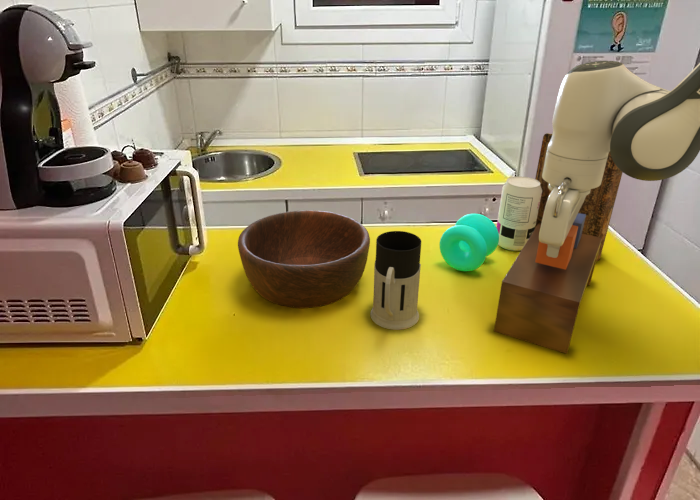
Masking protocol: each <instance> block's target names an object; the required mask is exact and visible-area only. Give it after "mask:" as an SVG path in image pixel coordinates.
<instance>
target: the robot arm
mask: <svg viewBox="0 0 700 500" xmlns="http://www.w3.org/2000/svg"><path fill="white" fill-rule="evenodd" d="M554 105H555V106H554V109H553V116H552V123H551V124H552V133H551V134H552V138H551V140H550V142H549V144H548V147H547V152H546V157H545V162H544V168H543V173H542V178H543V179H544V180H545V181H546V182H548V183H549V185H548V188H549V189H550V190H551V191H552V192H551V193H550V195H549V197H548V200H547V203H546V206H545V210H544V214H543V219H542V223H541V228H540V232H539V241H540V242H541V243H545V244H548V248H547V253H546V255H547V256H548V257H553V258H557V256H558V254H559V251H560V247H561V246H562V245H563V243H564V241H565V239H566V237H567V235H568V233H569V231H570V229H571V227H572V225H573V222H574V220H575V218H576V216H577V214H578V212H579V210H580V208H581V206H582V204H583V202H584V200H585V197H586V195H588V194H590V190H591V189H593V188H597V187H599V186H600V185H601V182H602V178H603V174H604V170H605V166H606V162H607V158H608V154H609V152H610V153H611V157H612V159H613V161H614V163H615V165H616V166H617V167H618V168H619V169H620V170H621V171H622V172H623V173H622V174H625V175H626V176H628V177H631V178H632V179H635V180H639V181H645V182H656V181H663V180H667V179H669V178H673V177H675V176H676V175H678V174H680V173H682V172H683V171H684V170H686V169H687V168H689V166H690V165H692V163H693V162H694V161H695V160H696V158H697V157H698V155H699V154H700V62H698V64H697V65H696V66H695V67H694V68H693V69H692V70H691V71H690V72H689V73H688V74H687V75H686V76H685V77H684V78H683V79H682V80H681V81H680V82H679V83H678V84H677V85H676V86H675V87H674V88H673V89H672V90H668V89H665V88H663V87H660V86H658V85H655V84H653V83H651V82H648V81H646V80H645V79H642V78H641V77H639V76H638V75H636V74H635V73H634V72H632V71H631V70H629V69H628V68H627V67H626V66H625V64H624V63H622V62H621V61H617V60H598V61H591V62H590V61H589V62H585V63H581V64H578V65H576V66H574V67H573V68H571V69H570V70H569V71H568V72H567V73H566V74H565V76H563V79H562V81H561V84H560V87H559V90H558V93H557V97H556V101H555V104H554Z"/></svg>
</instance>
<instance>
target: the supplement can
mask: <svg viewBox="0 0 700 500" xmlns="http://www.w3.org/2000/svg"><path fill="white" fill-rule="evenodd" d="M541 195H542V189H541V186H540V182H539V181H538V180H536V179H535V178H532V177H528V176H517V175H516V176H511V177H508V178H507V179H506V181H505V182H504V184H503V185H502V188H501V195H500V201H499V208H498V214H497V221H496V228H497V230H498V233H499V242H498V246H499V247H501V248H502V249H505V250H508V251H514V252H516V251H517V252H521V251H522V249H523V247H524V246H525V244H526V243H527V241H528V239H529V238H530V236H531V235H532V233H533V231H534V230H535V226H536V221H537V216H538V211H539V205H540V200H541Z"/></svg>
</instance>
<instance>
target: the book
mask: <svg viewBox="0 0 700 500" xmlns="http://www.w3.org/2000/svg"><path fill="white" fill-rule="evenodd" d="M552 134H553V133H549V132H547V133H546V132H545V133H544V134H543V136H542V139H541V140H542V141H541V145H540V151H539V156H538V162H537V167H536V173H535V178H534V179H536V180H538V181H539V182H540V186H541V189H542V195H541V200H540V205H539V211H538V216H537V221H536V226H535V228H536V227H537V225H538V224H539V225H541V223H542V219H543V214H544V210H545V206H546V203H547V200H548V197H549V195H550V193H551V192H552V191H551V190H550V189H549V188H548V185H549V183H548V182H546V181H545V180H544V179H543V178H542V173H543V168H544V162H545V157H546V152H547V147H548V144H549V142H550V140H551V138H552ZM623 174H624V173H623V172H622V171H621V170H620V169H619V168H618V167H617V166H616V165H615V163H614V161H613V159H612V157H611V153H610V152H609V154H608V158H607V162H606V166H605V170H604V174H603V178H602V182H601V185H600V186H599V187H597V188H593V189H591V190H590V194H588V195H586V197H585V200H584V202H583V204H582V206H581V208H580V210H579V212H578V213H581V214H586V218H585V222H584V226H583V231H582V234H586V235H591V236H596V237H600V238H602V240H601V244H600V248H599V252H598V256H597V260H596V263H597V262H598V261H600V260H601V258H602V257H601V256H602V253H603V249H604V245H605V241H606V237H607V234H608V230H609V226H610V223H611V220H612V219H611V218H612V215H613V210H614V207H615V204H616V199H617V195H618V191H619V188H620V184H621V180H622V177H623Z"/></svg>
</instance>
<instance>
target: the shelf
mask: <svg viewBox="0 0 700 500" xmlns="http://www.w3.org/2000/svg"><path fill="white" fill-rule="evenodd" d="M540 228H541V225H539V224H538V225H537V227H536V228H535V230H534V231H533V233H532V235H531V236H530V238H529V239H528V241H527V243H526V244H525V246H524V247H523V249H522V250H521V251H519V254H518V255H517V257H516V258H515V260H514V261H513V263H512V265H511V266H510V268H509V270H508V271H507V273H506V274H505V276H504V277H503V279H502V281H501V284H500V292H499V298H498V304H497V310H496V315H495V321H494V328H493V331H494V332H495V333H499V334H502V335H505V336H508V337H511V338H515V339H517V340H521V341H524V342H528V343H530V344H534V345H538V346H539V347H544V348H547V349H549V350H553V351H556V352H560V353H563V354H566V355H567V354H568V352H569V350H570V349H569V348H570V344H571V341H572V337H573V333H574V329H575V325H576V321H577V317H578V314H579V309H580V306H581V302H582V300H583V297H584V294H585V291H586V288H587V286H590V285H591V282H592V278H593V275H594V271H595V267H596V263H597V262H596V260H597V256H598V252H599V248H600V244H601V240H602V238H600V237H596V236H591V235H586V234H582V235H581V239H580V241H579V243H578V246H577V248H576V249H575V248H573V252H572V256H571V259H570V261H569V264H568V266H567V268H566V270H565V269H561V268H557V267H553V266H548V265H544V264H540V263H536V262H535V260H536V255H537V250H538V245H539V232H540Z"/></svg>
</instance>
